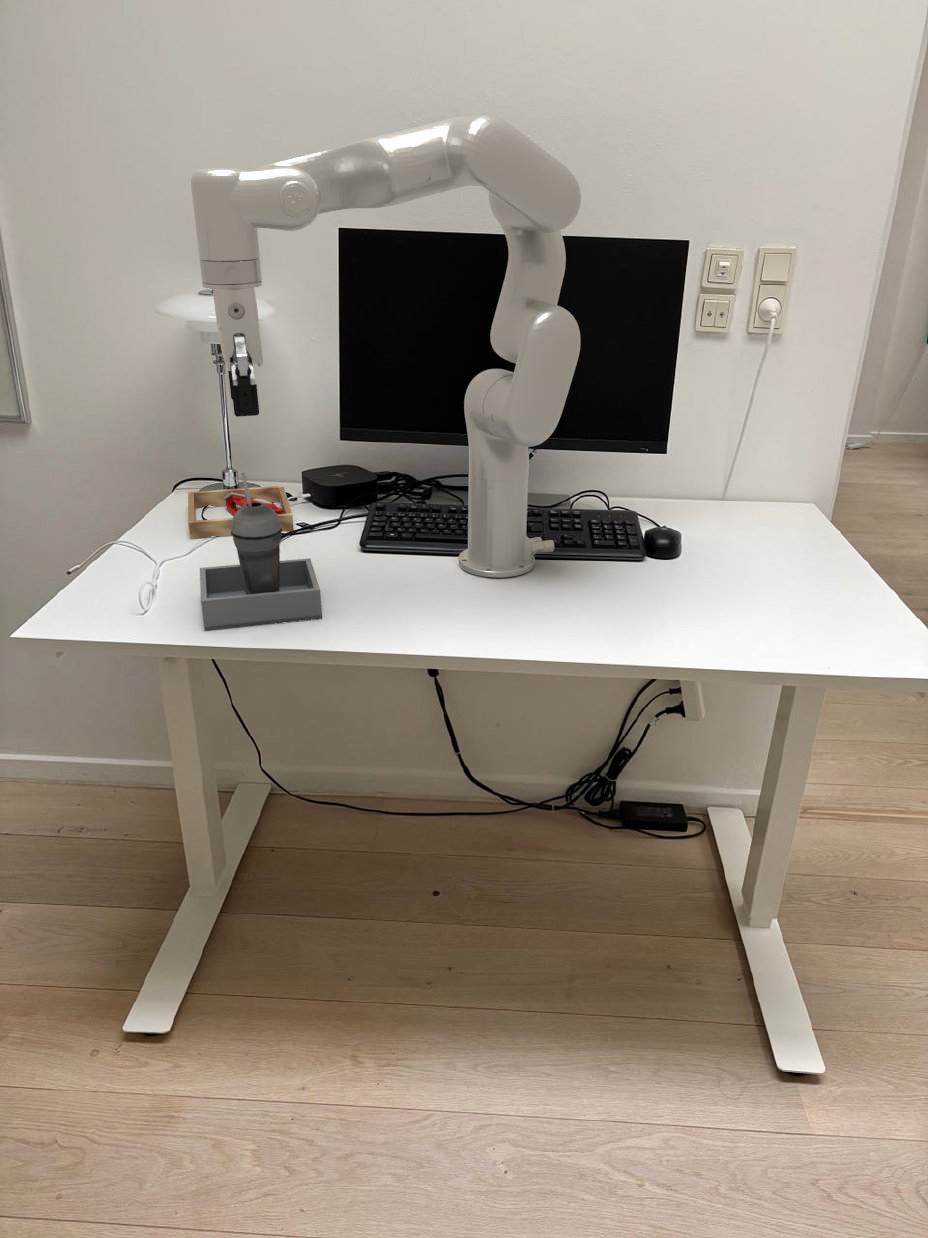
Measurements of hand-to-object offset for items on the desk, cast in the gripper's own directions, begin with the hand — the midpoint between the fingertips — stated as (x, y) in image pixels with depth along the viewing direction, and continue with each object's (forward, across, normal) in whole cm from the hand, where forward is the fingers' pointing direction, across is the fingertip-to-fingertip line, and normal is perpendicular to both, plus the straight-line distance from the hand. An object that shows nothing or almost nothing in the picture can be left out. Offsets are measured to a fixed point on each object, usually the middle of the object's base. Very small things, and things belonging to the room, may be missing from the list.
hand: (244, 406), depth 131 cm
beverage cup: (+29, 0, 0) cm, 29 cm away
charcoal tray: (+30, 0, +1) cm, 30 cm away
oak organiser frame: (+30, +41, +2) cm, 51 cm away
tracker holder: (+31, +43, -1) cm, 53 cm away
